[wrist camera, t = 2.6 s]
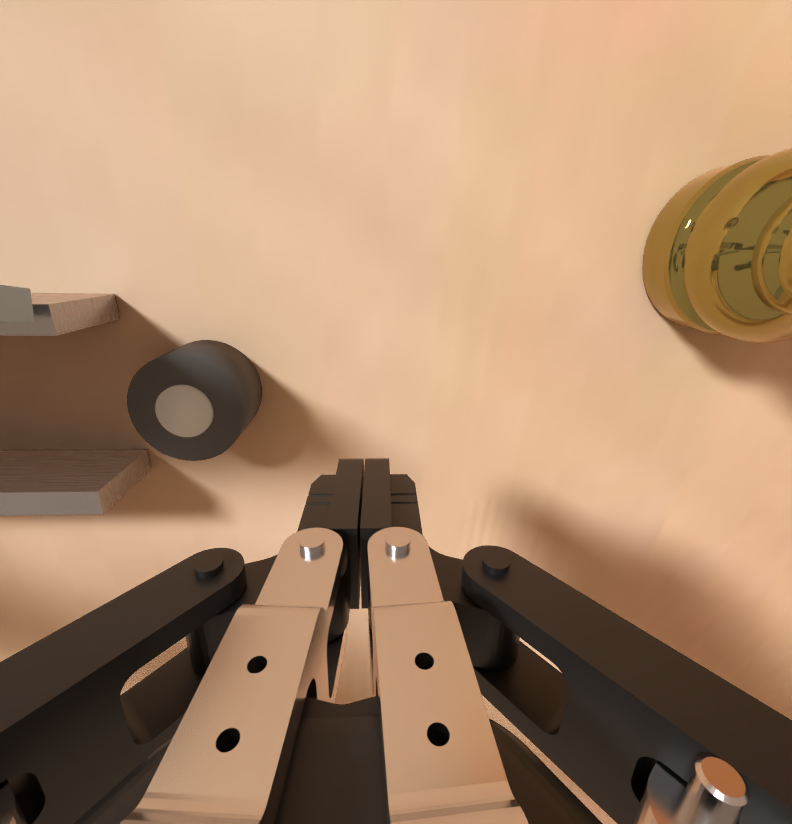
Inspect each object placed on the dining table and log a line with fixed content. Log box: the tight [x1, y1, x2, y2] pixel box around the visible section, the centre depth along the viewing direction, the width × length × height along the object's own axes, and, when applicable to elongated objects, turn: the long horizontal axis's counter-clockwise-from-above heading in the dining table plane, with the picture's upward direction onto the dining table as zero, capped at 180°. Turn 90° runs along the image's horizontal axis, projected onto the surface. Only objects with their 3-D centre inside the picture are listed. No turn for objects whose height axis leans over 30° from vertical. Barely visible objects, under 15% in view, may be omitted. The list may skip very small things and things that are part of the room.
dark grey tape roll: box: [127, 340, 262, 461], centre depth 21 cm, size 5×5×4 cm
